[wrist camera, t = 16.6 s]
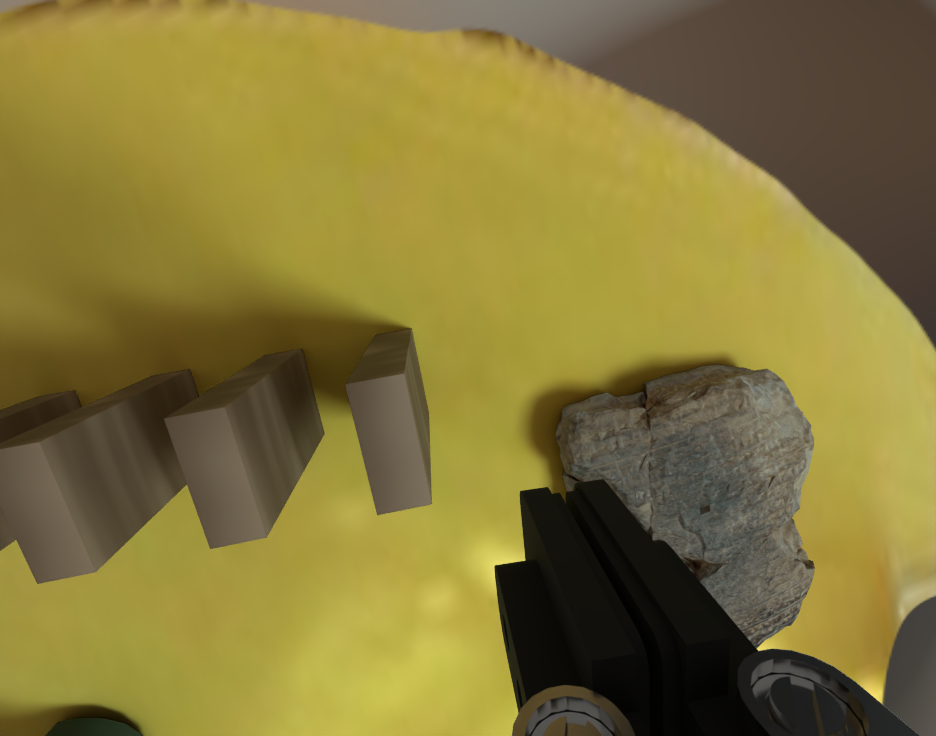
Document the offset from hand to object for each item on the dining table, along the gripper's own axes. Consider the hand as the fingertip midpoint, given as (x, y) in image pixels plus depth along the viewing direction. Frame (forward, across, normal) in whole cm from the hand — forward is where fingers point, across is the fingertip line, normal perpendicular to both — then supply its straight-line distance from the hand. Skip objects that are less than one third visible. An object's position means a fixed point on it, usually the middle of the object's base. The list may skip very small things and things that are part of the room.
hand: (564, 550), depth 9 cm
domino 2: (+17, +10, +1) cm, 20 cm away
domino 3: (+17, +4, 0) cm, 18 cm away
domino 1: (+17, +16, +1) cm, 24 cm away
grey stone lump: (+18, -12, +12) cm, 25 cm away
